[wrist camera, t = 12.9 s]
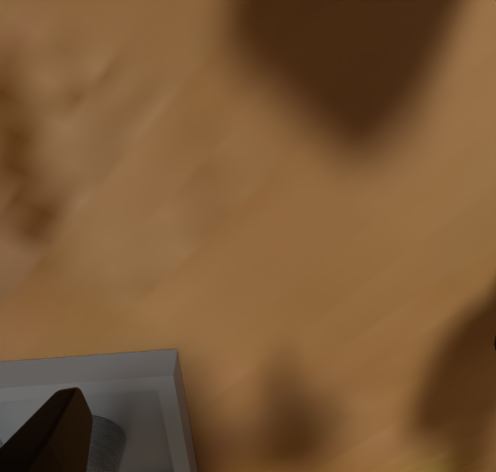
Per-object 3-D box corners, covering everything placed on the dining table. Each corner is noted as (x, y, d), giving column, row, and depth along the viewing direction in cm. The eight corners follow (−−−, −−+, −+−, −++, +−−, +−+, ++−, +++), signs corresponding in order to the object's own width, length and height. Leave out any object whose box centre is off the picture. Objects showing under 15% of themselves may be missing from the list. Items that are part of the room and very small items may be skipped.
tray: (177, 349, 23) (173, 375, 21) (199, 483, 29) (197, 514, 27) (-47, 365, 23) (-72, 393, 21) (20, 498, 28) (5, 530, 27)
